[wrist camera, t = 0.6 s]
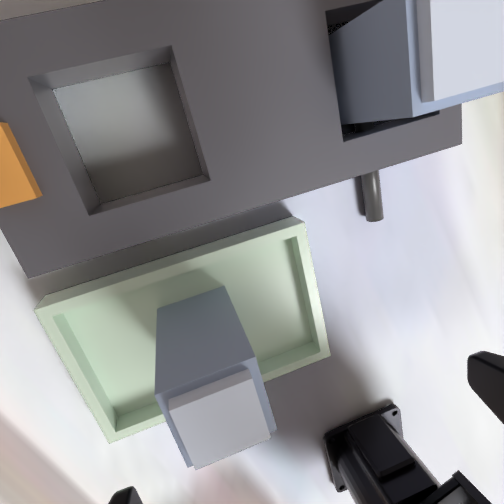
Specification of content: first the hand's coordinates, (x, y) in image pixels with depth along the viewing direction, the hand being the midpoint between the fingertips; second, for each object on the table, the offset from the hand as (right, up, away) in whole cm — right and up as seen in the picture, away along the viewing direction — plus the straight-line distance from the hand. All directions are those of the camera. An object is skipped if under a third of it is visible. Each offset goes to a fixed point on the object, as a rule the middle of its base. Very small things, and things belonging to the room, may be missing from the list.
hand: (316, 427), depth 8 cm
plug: (-5, 0, +11) cm, 12 cm away
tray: (-5, 0, +12) cm, 13 cm away
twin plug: (+5, +11, +11) cm, 16 cm away
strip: (-3, +12, +9) cm, 15 cm away
